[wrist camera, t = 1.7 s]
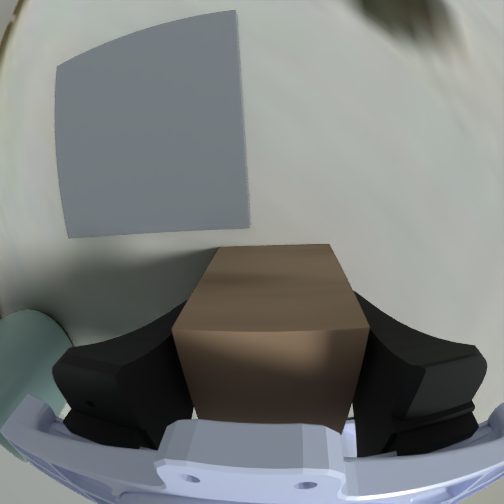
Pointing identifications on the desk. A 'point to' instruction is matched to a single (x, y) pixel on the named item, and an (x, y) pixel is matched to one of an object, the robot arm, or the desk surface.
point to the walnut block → (272, 337)
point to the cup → (29, 363)
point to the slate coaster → (154, 131)
